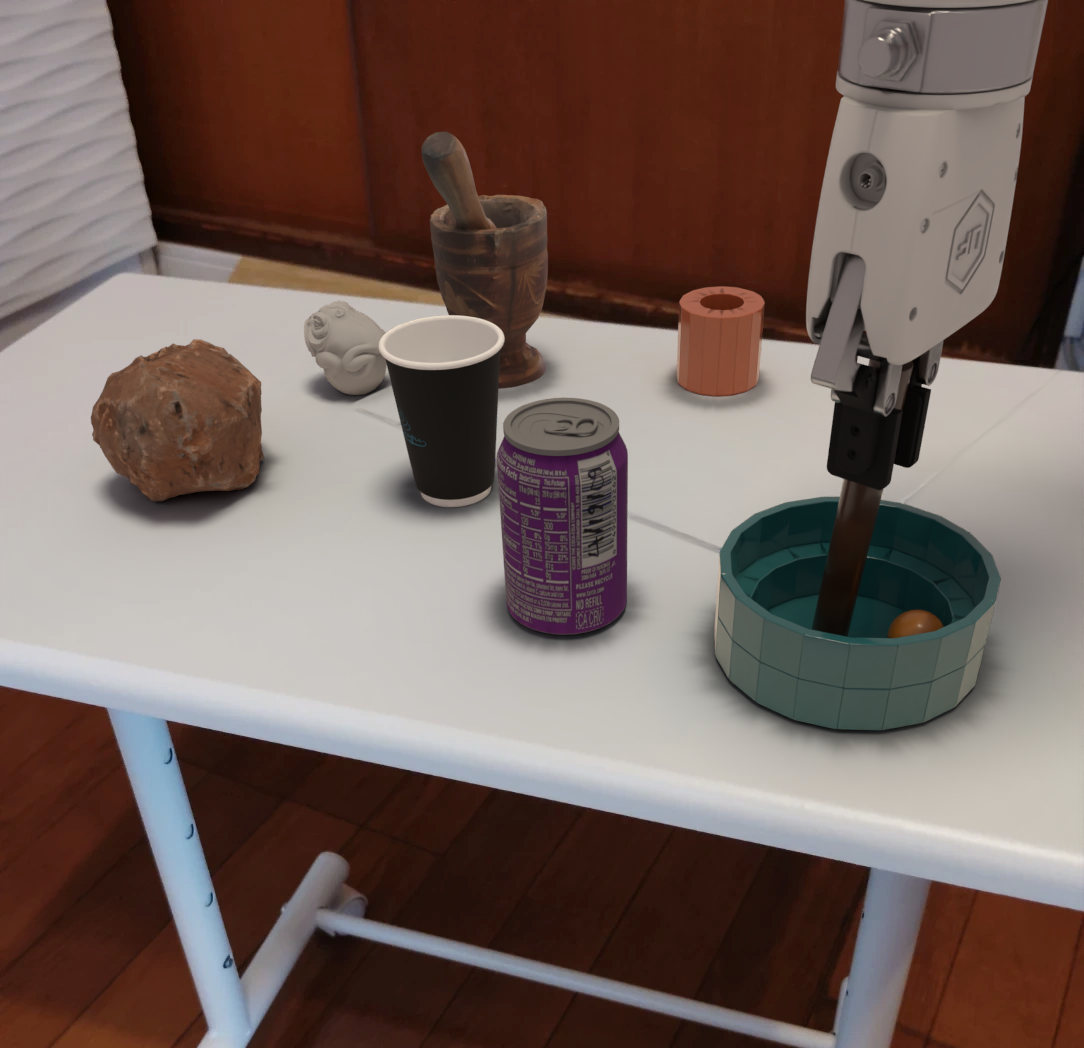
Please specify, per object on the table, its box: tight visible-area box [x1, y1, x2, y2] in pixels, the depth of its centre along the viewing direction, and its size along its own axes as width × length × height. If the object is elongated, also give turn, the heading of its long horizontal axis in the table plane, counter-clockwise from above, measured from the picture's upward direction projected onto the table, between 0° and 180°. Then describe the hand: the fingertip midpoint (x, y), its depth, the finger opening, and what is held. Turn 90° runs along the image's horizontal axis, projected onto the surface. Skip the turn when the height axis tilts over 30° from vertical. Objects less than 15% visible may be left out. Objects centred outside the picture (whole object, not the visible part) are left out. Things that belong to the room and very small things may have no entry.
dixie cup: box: [379, 314, 505, 508], centre depth 78 cm, size 8×8×11 cm
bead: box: [887, 610, 944, 638], centre depth 63 cm, size 3×3×3 cm
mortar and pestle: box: [421, 131, 549, 390], centre depth 88 cm, size 12×9×20 cm
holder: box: [676, 285, 766, 397], centre depth 90 cm, size 6×6×7 cm
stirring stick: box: [811, 359, 913, 637], centre depth 60 cm, size 2×2×16 cm
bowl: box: [713, 496, 1002, 731], centre depth 64 cm, size 14×14×6 cm
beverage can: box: [496, 397, 629, 635], centre depth 66 cm, size 7×7×12 cm
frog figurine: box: [303, 300, 388, 396], centre depth 93 cm, size 6×7×7 cm
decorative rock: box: [90, 338, 265, 502], centre depth 81 cm, size 13×11×10 cm
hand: (872, 466), depth 58 cm, fingers closed on stirring stick, 2 cm apart
